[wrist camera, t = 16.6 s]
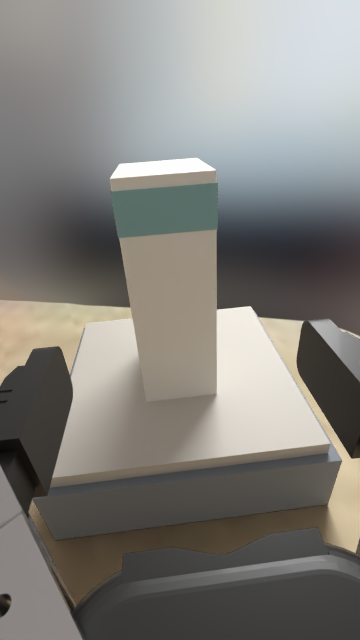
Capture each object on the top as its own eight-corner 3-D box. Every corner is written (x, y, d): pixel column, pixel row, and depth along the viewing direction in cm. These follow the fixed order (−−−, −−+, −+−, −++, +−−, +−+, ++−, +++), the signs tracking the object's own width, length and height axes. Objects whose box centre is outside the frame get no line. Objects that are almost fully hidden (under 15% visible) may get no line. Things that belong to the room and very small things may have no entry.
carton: (145, 402, 20) (108, 179, 13) (145, 345, 25) (118, 163, 19) (217, 394, 20) (217, 170, 14) (203, 339, 26) (197, 157, 19)
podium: (54, 540, 18) (27, 490, 16) (93, 363, 32) (82, 320, 29) (327, 504, 19) (345, 450, 16) (251, 346, 33) (254, 303, 30)
